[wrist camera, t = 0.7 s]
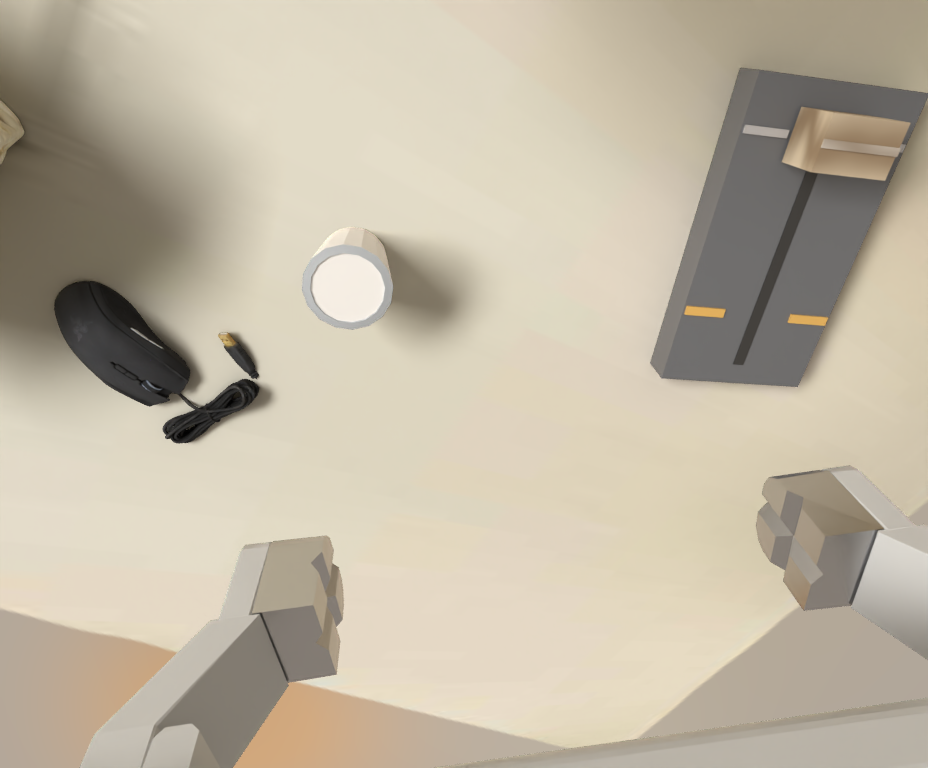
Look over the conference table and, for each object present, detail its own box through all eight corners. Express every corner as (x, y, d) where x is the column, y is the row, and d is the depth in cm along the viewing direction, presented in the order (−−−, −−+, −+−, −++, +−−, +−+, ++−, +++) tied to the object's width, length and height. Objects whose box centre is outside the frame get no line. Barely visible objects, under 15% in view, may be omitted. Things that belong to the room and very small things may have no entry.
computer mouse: (159, 233, 50) (141, 248, 47) (283, 391, 59) (275, 414, 55) (42, 299, 52) (17, 318, 49) (179, 443, 60) (165, 468, 57)
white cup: (411, 257, 52) (411, 286, 46) (359, 311, 55) (354, 346, 48) (348, 201, 50) (340, 225, 44) (296, 261, 52) (282, 291, 46)
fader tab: (801, 106, 46) (835, 113, 42) (873, 115, 47) (912, 123, 43) (781, 161, 48) (812, 172, 44) (850, 170, 48) (886, 181, 45)
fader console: (740, 67, 47) (761, 69, 44) (901, 90, 49) (931, 93, 46) (650, 363, 60) (662, 379, 57) (781, 371, 62) (798, 387, 59)
